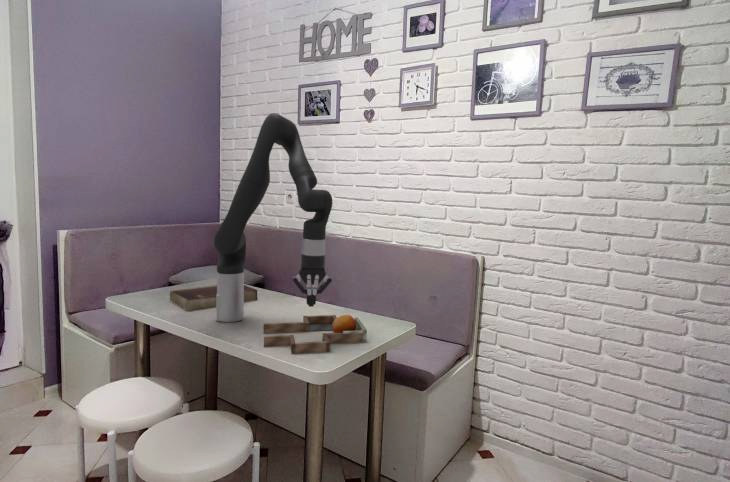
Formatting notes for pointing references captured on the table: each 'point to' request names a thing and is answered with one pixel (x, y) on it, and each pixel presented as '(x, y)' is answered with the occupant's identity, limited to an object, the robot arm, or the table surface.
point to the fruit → (344, 324)
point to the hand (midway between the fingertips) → (311, 305)
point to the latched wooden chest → (204, 297)
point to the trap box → (308, 326)
